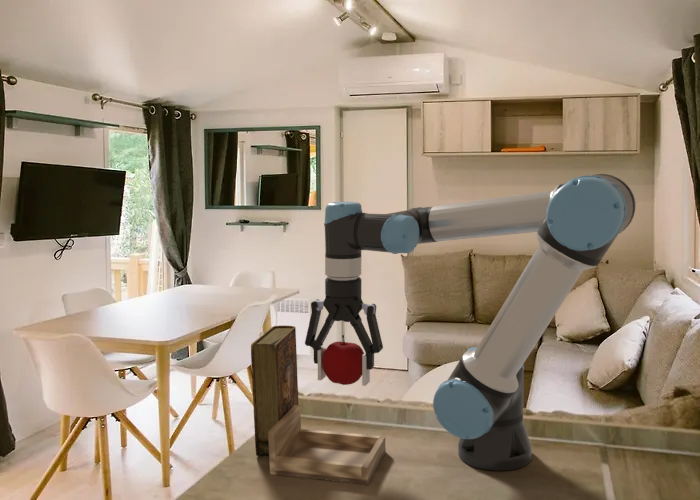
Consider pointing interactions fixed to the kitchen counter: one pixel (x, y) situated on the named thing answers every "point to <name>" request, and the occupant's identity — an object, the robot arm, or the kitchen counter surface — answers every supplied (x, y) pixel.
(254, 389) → the book
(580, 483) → the kitchen counter surface
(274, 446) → the tray
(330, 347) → the apple
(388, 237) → the robot arm
